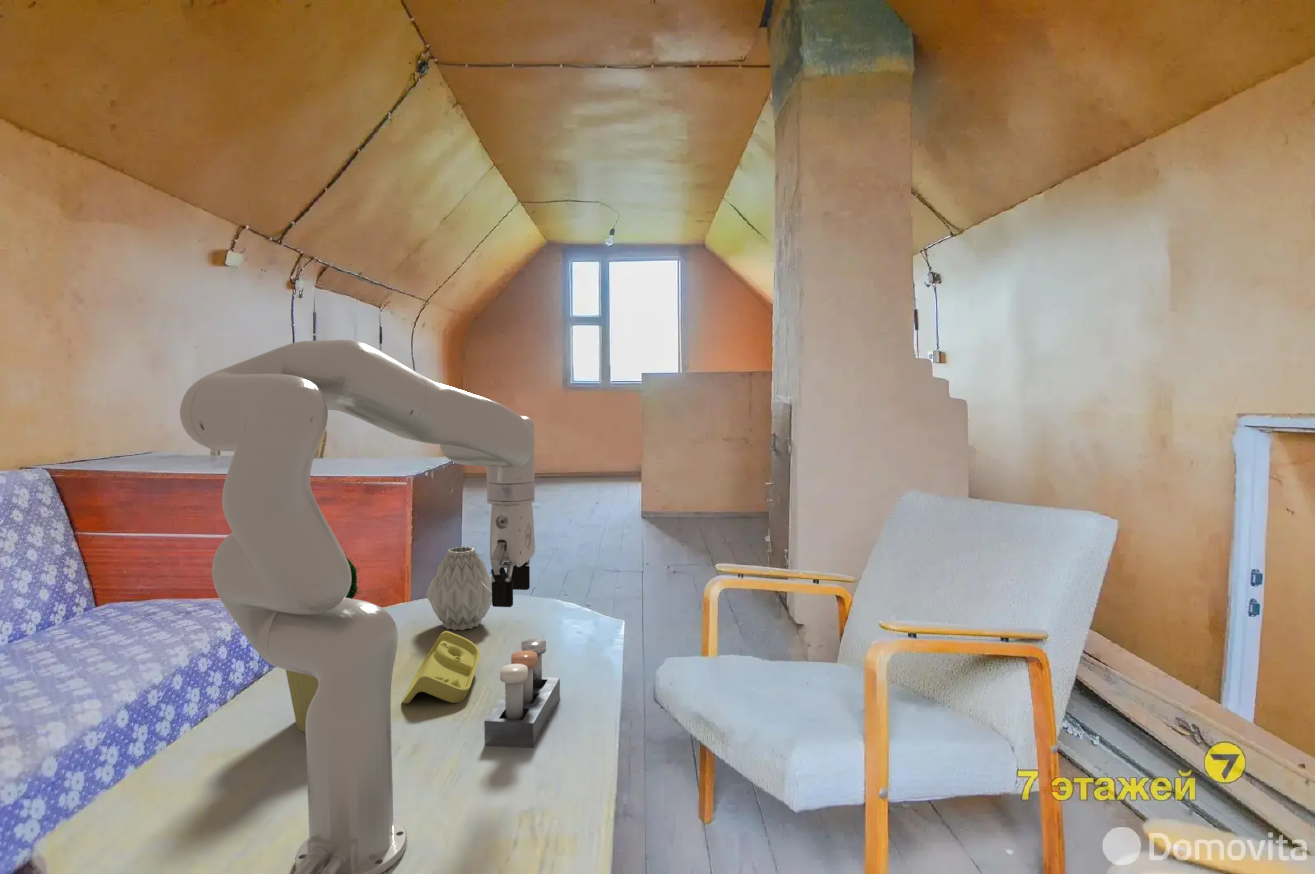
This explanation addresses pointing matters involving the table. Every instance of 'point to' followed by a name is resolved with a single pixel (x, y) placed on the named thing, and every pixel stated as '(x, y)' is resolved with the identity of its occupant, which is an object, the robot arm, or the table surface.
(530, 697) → the terracotta plunger
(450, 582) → the vase
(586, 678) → the table surface
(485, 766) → the table surface
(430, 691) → the plastic component
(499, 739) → the grey socket block
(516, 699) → the ivory plunger
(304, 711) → the potted cactus
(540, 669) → the grey plunger
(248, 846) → the table surface
